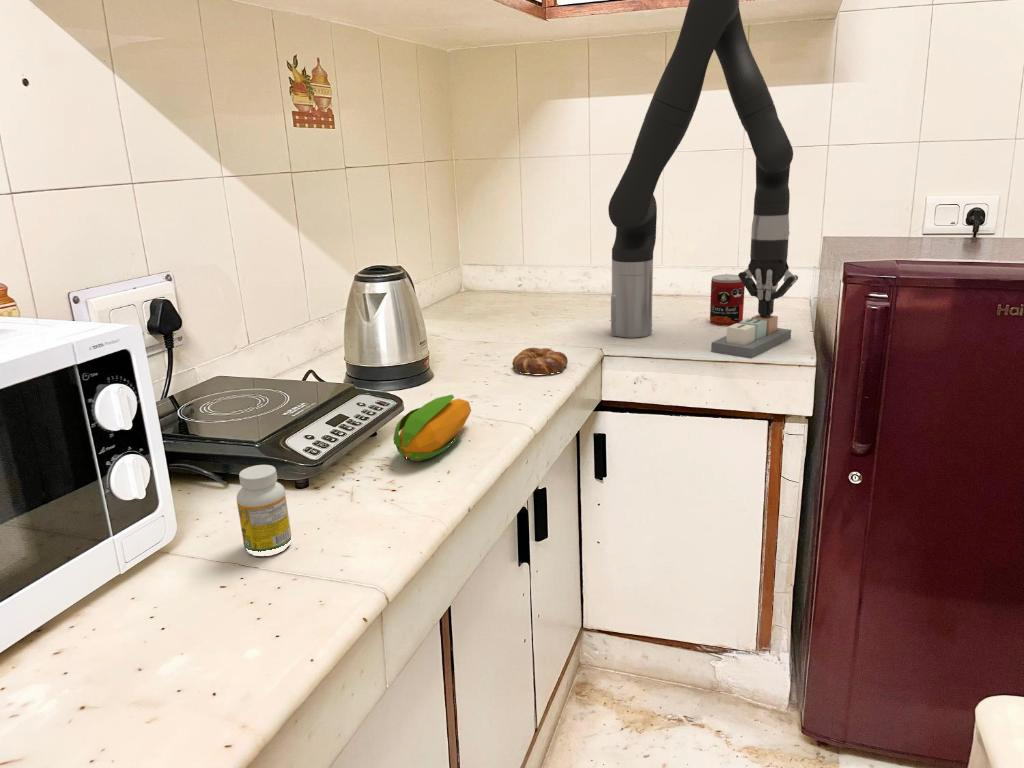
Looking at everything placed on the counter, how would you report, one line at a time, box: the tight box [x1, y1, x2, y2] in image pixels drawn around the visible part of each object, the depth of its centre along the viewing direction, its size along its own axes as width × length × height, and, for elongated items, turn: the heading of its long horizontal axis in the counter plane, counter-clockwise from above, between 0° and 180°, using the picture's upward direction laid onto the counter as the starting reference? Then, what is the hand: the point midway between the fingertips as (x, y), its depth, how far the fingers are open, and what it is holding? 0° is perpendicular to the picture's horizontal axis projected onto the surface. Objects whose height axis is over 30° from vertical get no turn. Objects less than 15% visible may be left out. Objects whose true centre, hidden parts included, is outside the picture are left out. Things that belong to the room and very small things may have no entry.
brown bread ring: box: [512, 347, 569, 374], centre depth 154 cm, size 12×11×4 cm
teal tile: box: [739, 317, 767, 340], centre depth 164 cm, size 4×4×4 cm
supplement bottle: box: [236, 464, 292, 552], centre depth 88 cm, size 5×5×10 cm
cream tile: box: [726, 323, 755, 345], centre depth 160 cm, size 4×4×4 cm
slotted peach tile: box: [750, 313, 779, 334], centre depth 167 cm, size 4×4×4 cm
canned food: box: [709, 273, 746, 326], centre depth 183 cm, size 8×8×11 cm
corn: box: [392, 394, 472, 462], centre depth 116 cm, size 7×8×20 cm
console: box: [710, 327, 792, 359], centre depth 164 cm, size 9×19×2 cm, turn 138°
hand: (765, 316), depth 167 cm, fingers closed
